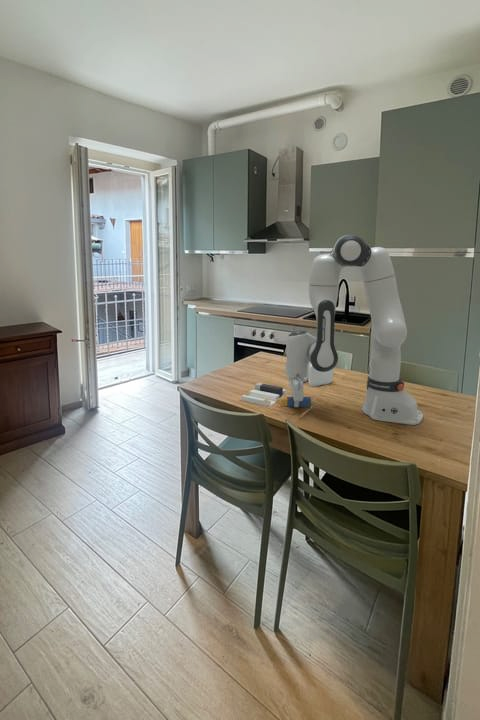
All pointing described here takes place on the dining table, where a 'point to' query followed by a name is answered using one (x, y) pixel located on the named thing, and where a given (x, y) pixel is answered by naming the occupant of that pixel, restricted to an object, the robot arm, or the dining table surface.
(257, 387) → the dark grey square rod
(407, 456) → the dining table surface
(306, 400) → the blue bar yellow end
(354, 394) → the dining table surface
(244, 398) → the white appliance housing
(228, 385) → the dining table surface
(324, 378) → the cable organizer
